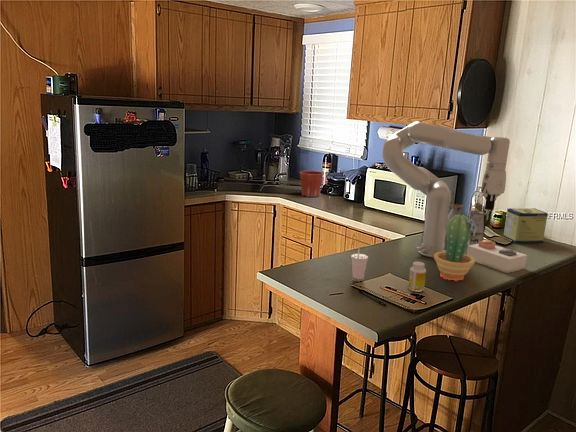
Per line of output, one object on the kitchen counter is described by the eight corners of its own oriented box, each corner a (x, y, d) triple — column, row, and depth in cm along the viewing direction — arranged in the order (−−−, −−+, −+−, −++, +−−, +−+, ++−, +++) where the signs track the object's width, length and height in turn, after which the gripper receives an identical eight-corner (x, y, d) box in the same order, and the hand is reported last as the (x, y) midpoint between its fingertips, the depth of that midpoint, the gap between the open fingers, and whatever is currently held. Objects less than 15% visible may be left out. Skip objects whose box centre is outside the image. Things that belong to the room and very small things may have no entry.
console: (507, 273, 197) (509, 259, 196) (466, 258, 213) (468, 245, 212) (524, 268, 203) (527, 254, 202) (483, 254, 220) (485, 242, 218)
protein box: (543, 243, 241) (548, 212, 238) (514, 243, 239) (519, 213, 235) (530, 237, 251) (534, 208, 248) (502, 237, 249) (506, 208, 245)
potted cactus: (456, 287, 180) (465, 221, 174) (423, 274, 193) (429, 212, 186) (480, 279, 189) (489, 216, 183) (447, 267, 201) (454, 208, 195)
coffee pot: (443, 224, 270) (446, 198, 267) (465, 226, 267) (468, 200, 264) (443, 234, 251) (447, 206, 247) (467, 237, 247) (471, 208, 244)
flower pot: (309, 192, 348) (310, 169, 344) (327, 196, 337) (328, 173, 333) (293, 195, 336) (294, 171, 332) (311, 199, 325) (312, 175, 321)
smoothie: (355, 276, 188) (357, 241, 184) (369, 280, 184) (372, 245, 181) (346, 280, 183) (348, 244, 180) (360, 285, 179) (363, 248, 176)
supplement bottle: (426, 290, 177) (429, 263, 174) (419, 294, 173) (422, 267, 170) (412, 285, 180) (415, 259, 178) (405, 289, 176) (407, 263, 174)
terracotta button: (486, 256, 209) (488, 243, 207) (477, 253, 213) (479, 240, 211) (493, 255, 211) (495, 241, 210) (484, 252, 215) (486, 238, 214)
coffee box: (482, 248, 229) (487, 215, 225) (468, 247, 230) (472, 214, 227) (479, 243, 238) (483, 210, 234) (465, 241, 239) (469, 209, 235)
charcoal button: (507, 266, 201) (509, 252, 199) (497, 262, 205) (499, 249, 203) (514, 264, 203) (516, 250, 202) (504, 261, 207) (506, 247, 206)
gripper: (491, 169, 198) (484, 212, 202) (515, 167, 205) (507, 210, 209) (476, 166, 204) (470, 208, 208) (499, 165, 211) (493, 206, 216)
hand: (489, 209), depth 209 cm, fingers closed
